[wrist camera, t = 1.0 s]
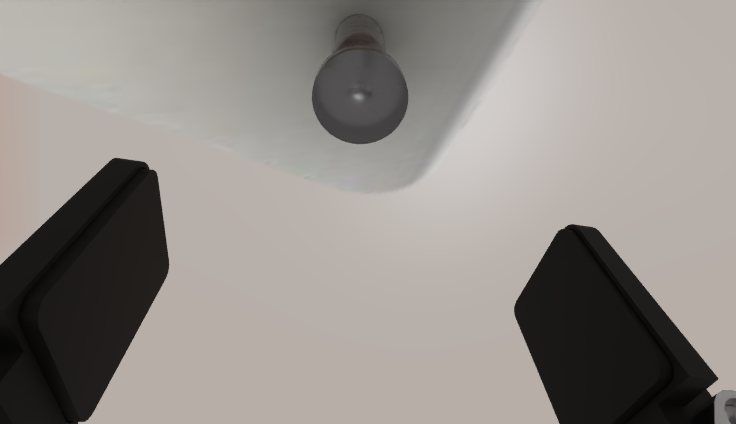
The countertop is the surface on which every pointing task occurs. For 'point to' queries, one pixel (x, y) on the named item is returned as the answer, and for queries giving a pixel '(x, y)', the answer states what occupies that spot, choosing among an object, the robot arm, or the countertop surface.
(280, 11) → the countertop surface
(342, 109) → the hinge pin
